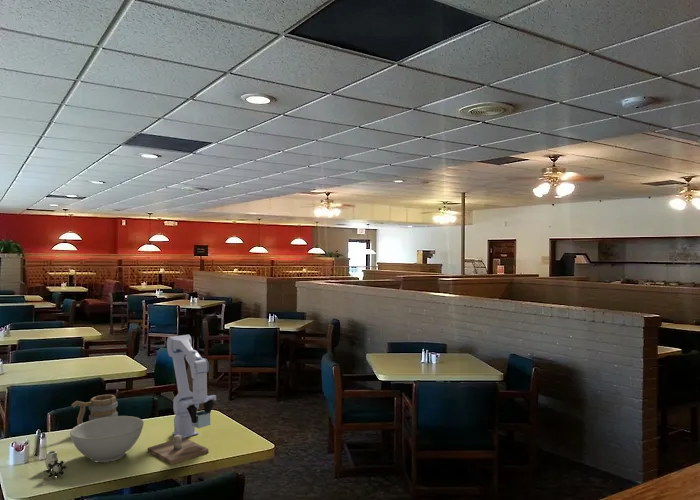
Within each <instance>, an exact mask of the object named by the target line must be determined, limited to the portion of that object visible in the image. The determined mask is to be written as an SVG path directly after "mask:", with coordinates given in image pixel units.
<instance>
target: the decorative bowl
mask: <svg viewBox="0 0 700 500" xmlns="http://www.w3.org/2000/svg"><path fill="white" fill-rule="evenodd" d="M143 427H144V420H143V419H141V418H139V417H137V416H130V415H129V416H128V415H118V416H113V417H105V418H99V419H95V420H91V421H90V420H88V421H85V422H84V421H83V423H82V424H79V425H78V424H77V425H76V426H74V427H73V428H72V429H71V430H70V432H69V436H70V438H71V441H72V443H73V445H74V446H75V448H76V449H77V451H78V452H80V453H81V454H82V455H83V456H85V457H87V458H89V459H90V460H91V459H92V460H93V461H98V462H104V463H110V462H109V461H111V462H114V461H117V460H119V459H122V458H123V457H124V456H125V455H126V453H127V452H128V451H129V450H130V449H132V448H133V447H134V445H135V444H136V443H137V441H138V440H139V438H140V436H141V433H142V430H143ZM92 460H91V461H92ZM93 461H92V462H93ZM98 462H97V463H98Z"/></svg>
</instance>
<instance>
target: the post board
mask: <svg viewBox="0 0 700 500" xmlns="http://www.w3.org/2000/svg"><path fill="white" fill-rule="evenodd" d="M147 452H148V453H149V454H151V455H153V456H155V457H156V458H159V459H160V460H162V461H165V462H166V463H168V464H170V465H176V464H179V463H182V462H185V461H187V460H190V459H193V458H197V457H199V456H203V455H207V454H209V448H207V447H205V446H203V445H201V444H199V443H197V442H194V441H192V440H190V439H188V438H187V437H186V438H184V437H182V436H181V435H175V434H174V436H173V439H172V440H169V441H166V442H162V443H159V444H156V445H153V446H148V447H147Z"/></svg>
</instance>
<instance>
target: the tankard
mask: <svg viewBox="0 0 700 500" xmlns="http://www.w3.org/2000/svg"><path fill="white" fill-rule="evenodd" d="M118 405H119V402H118V401H117V396H115V395H114V394H102V395H100V394H99V395H96V396H93V397H92V398H90V400H89V401H88V402H87V401H86V402H84V401H81V400H80V401H79V400H76V401H74V402H73V403H72V404H71V406H72V408H76V407H77V406H78V407H79V412H78V415H77V418H76V421H77V425H79V424H82V423H84V417H85V414H86V407H88V410H89V411H90V414H89V415H88V421H91V420H95V419H99V418H105V417H113V416H119V412H118V411H117V407H118Z"/></svg>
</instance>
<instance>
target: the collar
mask: <svg viewBox="0 0 700 500" xmlns="http://www.w3.org/2000/svg"><path fill="white" fill-rule="evenodd" d="M191 425H192V426H194V427H195V429H196V428H197V429H202V428H205V427H207V426H211V412H210V413H209V412H206V411H204V410H199V411H197V413H196V423H192V420H191Z"/></svg>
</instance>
